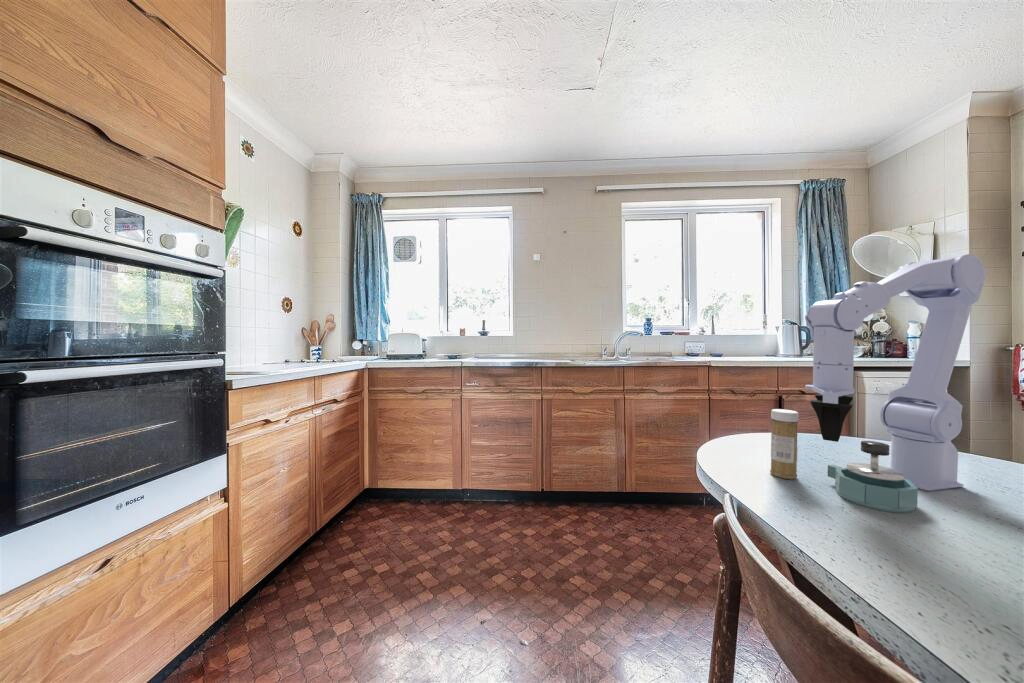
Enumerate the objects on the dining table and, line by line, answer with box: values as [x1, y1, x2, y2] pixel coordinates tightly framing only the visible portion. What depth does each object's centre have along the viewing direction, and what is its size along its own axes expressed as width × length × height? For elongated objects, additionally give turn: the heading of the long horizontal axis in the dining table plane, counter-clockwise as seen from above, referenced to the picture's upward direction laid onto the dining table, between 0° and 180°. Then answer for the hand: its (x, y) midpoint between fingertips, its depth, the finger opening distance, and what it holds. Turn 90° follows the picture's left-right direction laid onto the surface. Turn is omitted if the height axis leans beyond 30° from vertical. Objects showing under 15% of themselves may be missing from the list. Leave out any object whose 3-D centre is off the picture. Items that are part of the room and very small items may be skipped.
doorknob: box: [846, 440, 904, 482], centre depth 65 cm, size 7×7×5 cm
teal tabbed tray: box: [827, 464, 919, 514], centre depth 67 cm, size 10×12×4 cm
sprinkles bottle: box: [769, 408, 800, 480], centre depth 76 cm, size 5×5×13 cm
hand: (831, 435), depth 70 cm, fingers open, 7 cm apart
